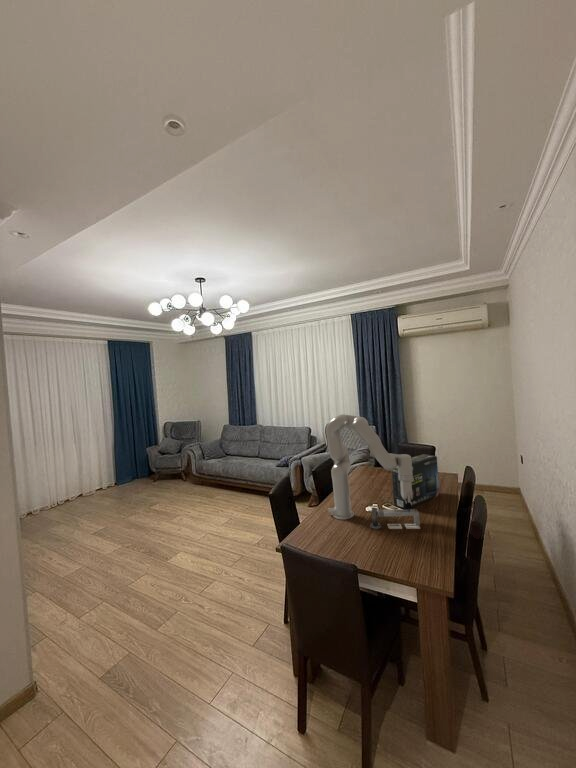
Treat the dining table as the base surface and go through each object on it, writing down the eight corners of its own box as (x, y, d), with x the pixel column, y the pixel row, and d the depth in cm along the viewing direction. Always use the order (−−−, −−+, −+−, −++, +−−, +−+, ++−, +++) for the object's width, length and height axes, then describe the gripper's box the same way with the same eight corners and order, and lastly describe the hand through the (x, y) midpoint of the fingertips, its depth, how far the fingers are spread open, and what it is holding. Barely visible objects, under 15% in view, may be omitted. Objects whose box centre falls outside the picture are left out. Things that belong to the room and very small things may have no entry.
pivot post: (370, 529, 163) (369, 510, 163) (369, 524, 169) (368, 506, 169) (382, 529, 162) (380, 510, 162) (380, 524, 168) (379, 506, 168)
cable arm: (380, 525, 163) (379, 512, 163) (379, 522, 168) (378, 509, 168) (420, 525, 160) (418, 512, 160) (417, 521, 164) (416, 508, 164)
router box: (408, 510, 183) (404, 466, 183) (392, 505, 192) (389, 463, 193) (441, 495, 203) (437, 455, 203) (425, 491, 212) (422, 453, 212)
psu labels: (388, 528, 162) (388, 527, 162) (387, 524, 167) (387, 523, 167) (420, 528, 160) (420, 527, 160) (417, 524, 165) (417, 523, 165)
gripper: (396, 473, 178) (399, 504, 178) (400, 481, 163) (403, 515, 163) (410, 473, 177) (412, 504, 176) (415, 481, 162) (418, 515, 162)
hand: (408, 509), depth 170 cm, fingers closed
